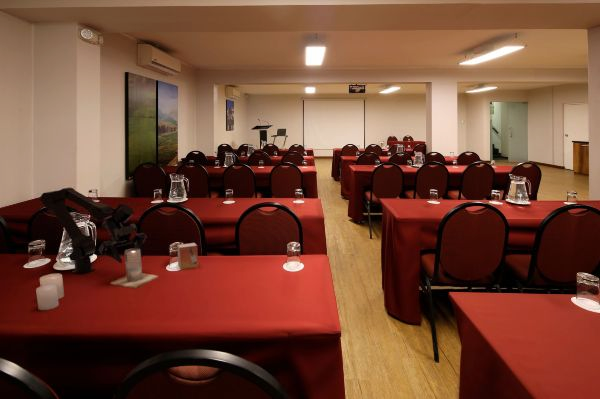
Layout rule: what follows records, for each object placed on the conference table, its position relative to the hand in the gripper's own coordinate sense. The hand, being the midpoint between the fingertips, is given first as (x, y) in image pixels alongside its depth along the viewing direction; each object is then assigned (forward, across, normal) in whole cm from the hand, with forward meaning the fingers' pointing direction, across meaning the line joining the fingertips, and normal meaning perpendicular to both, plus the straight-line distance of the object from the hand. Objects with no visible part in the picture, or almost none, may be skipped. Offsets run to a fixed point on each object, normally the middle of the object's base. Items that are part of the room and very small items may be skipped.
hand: (132, 259), depth 158 cm
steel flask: (+6, 0, +6) cm, 8 cm away
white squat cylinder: (+5, -31, +8) cm, 33 cm away
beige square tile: (+7, 0, +6) cm, 9 cm away
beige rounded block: (0, -27, +13) cm, 30 cm away
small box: (+10, +24, +3) cm, 26 cm away
